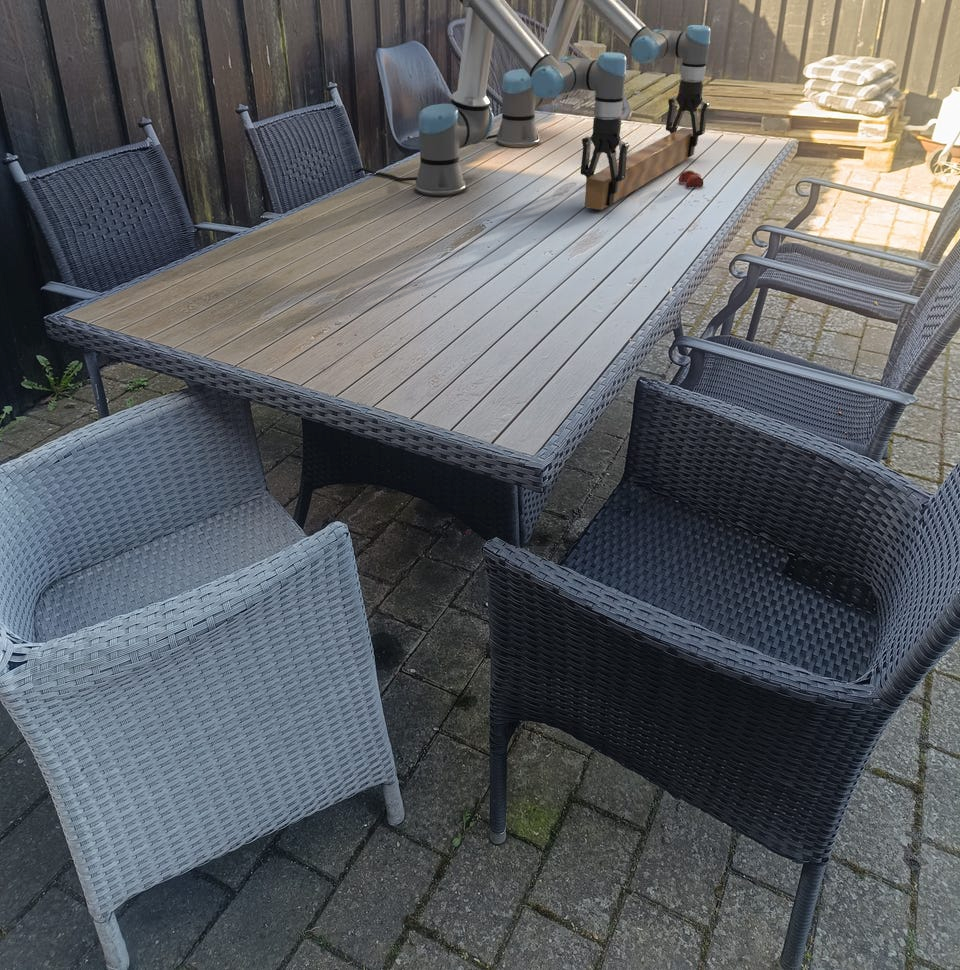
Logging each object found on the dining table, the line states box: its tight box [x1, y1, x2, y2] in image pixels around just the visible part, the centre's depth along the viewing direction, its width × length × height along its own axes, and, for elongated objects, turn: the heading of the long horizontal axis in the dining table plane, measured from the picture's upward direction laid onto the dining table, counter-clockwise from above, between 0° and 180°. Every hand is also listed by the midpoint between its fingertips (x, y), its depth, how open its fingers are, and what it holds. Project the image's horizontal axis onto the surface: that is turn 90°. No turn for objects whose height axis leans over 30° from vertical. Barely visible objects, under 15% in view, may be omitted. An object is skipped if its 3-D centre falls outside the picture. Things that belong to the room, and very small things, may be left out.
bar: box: [584, 127, 696, 211], centre depth 262 cm, size 71×5×8 cm, turn 147°
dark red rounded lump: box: [678, 169, 704, 189], centre depth 261 cm, size 6×4×8 cm
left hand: (600, 202), depth 242 cm, fingers closed on bar, 5 cm apart
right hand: (681, 154), depth 285 cm, fingers closed on bar, 5 cm apart
